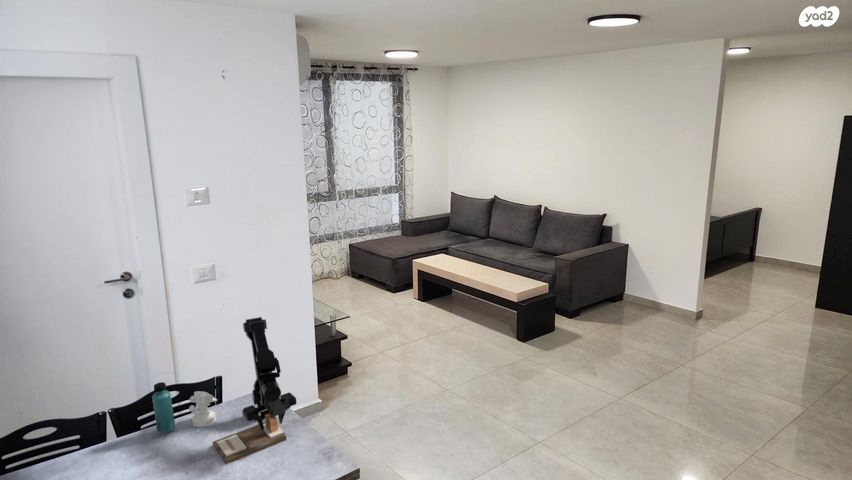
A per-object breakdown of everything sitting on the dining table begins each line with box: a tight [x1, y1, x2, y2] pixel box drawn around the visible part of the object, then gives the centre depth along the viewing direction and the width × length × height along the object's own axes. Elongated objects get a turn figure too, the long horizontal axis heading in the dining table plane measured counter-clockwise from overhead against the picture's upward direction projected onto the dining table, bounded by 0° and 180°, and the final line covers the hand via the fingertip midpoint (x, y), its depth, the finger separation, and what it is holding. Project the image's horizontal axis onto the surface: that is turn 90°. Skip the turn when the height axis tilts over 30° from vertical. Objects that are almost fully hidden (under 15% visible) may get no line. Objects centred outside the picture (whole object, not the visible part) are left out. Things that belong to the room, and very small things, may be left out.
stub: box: [263, 413, 285, 438], centre depth 199 cm, size 10×5×6 cm, turn 39°
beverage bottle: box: [151, 381, 176, 434], centre depth 200 cm, size 6×7×20 cm
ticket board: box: [212, 421, 287, 465], centre depth 194 cm, size 14×22×2 cm, turn 128°
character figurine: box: [188, 390, 218, 428], centre depth 208 cm, size 9×10×12 cm
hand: (271, 426), depth 199 cm, fingers open, 7 cm apart
